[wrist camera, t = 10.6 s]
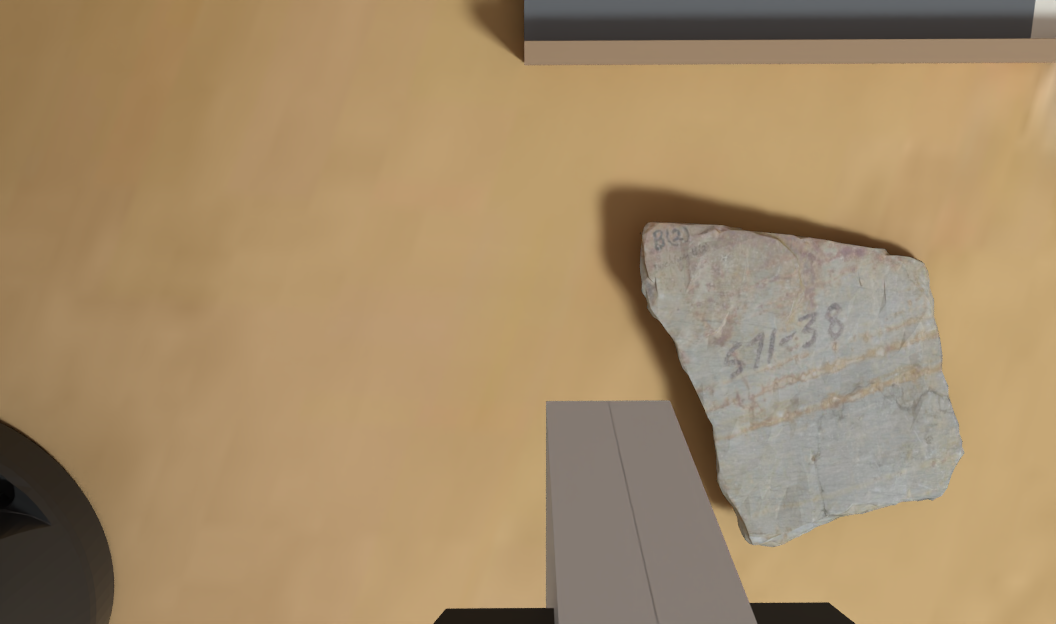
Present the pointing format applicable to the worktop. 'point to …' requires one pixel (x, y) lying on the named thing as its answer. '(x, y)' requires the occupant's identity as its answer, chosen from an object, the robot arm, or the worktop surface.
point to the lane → (788, 31)
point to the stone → (806, 371)
